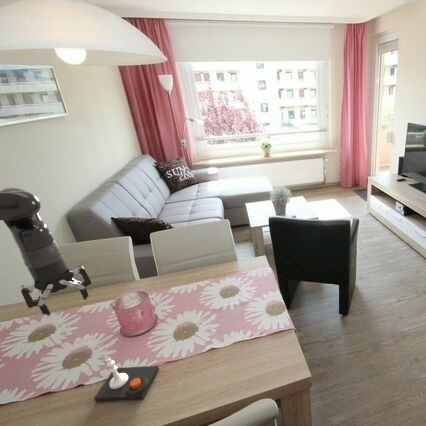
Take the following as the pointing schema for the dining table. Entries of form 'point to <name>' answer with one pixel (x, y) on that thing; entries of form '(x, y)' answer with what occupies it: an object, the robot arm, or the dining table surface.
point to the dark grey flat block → (128, 385)
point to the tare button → (135, 383)
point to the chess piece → (116, 375)
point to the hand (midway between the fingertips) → (67, 305)
